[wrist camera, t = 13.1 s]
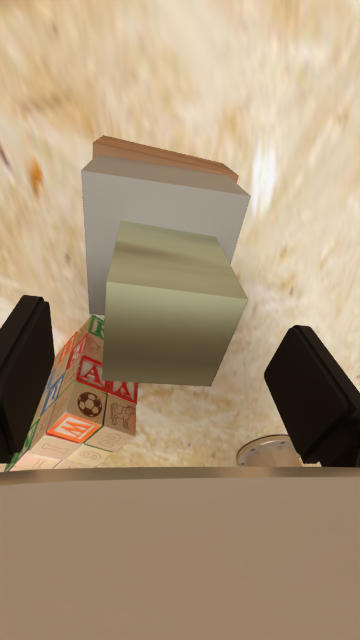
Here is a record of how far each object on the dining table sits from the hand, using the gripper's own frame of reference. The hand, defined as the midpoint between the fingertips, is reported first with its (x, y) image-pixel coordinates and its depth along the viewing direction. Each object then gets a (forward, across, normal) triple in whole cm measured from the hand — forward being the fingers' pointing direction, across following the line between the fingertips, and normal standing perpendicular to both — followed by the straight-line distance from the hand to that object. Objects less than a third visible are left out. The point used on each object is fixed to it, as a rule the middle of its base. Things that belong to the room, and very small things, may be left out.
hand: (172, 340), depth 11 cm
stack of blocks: (+16, +8, +22) cm, 29 cm away
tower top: (+11, 0, 0) cm, 11 cm away
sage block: (+6, 0, 0) cm, 6 cm away
